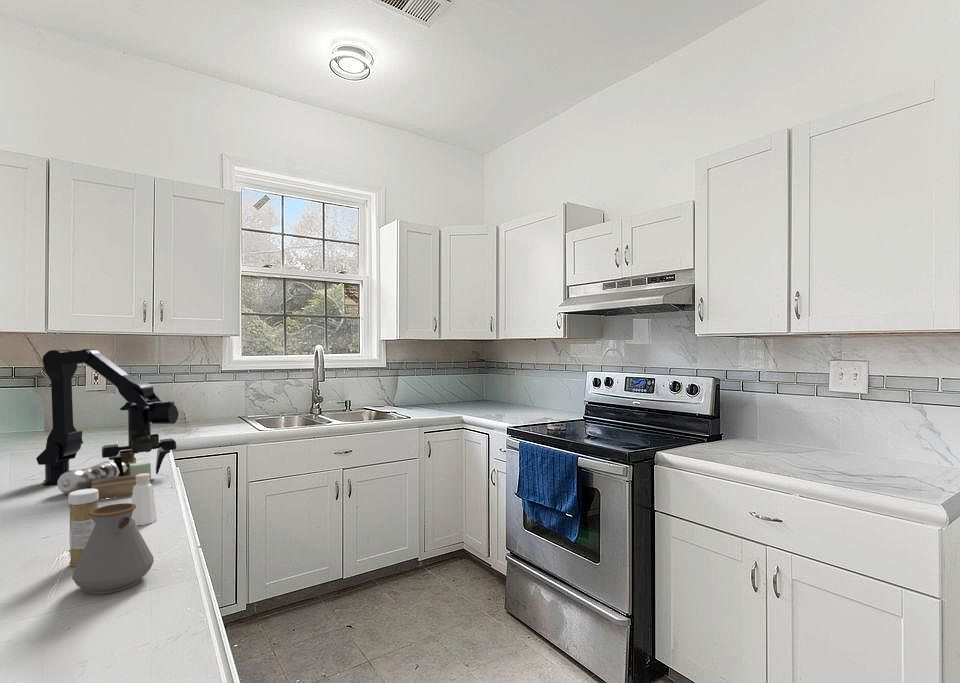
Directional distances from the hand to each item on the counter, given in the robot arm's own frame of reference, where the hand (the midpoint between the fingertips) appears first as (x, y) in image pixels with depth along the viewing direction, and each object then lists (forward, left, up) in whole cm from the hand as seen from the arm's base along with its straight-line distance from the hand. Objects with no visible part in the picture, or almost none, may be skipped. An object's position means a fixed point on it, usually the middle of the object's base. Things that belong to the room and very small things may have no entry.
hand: (140, 476), depth 161 cm
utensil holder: (-12, -3, -1) cm, 12 cm away
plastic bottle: (+7, -18, +2) cm, 19 cm away
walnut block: (+13, -7, -2) cm, 15 cm away
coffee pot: (+85, -10, -2) cm, 86 cm away
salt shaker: (+46, -3, -1) cm, 46 cm away
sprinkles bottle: (+66, -14, -1) cm, 67 cm away
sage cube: (0, 0, -1) cm, 1 cm away
